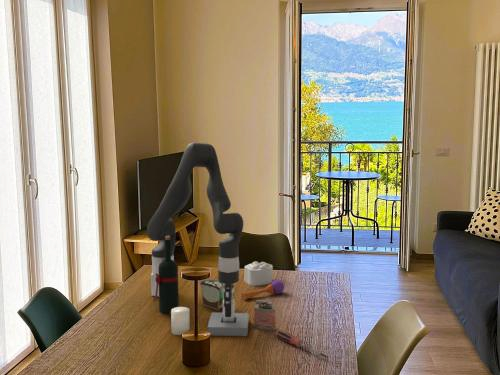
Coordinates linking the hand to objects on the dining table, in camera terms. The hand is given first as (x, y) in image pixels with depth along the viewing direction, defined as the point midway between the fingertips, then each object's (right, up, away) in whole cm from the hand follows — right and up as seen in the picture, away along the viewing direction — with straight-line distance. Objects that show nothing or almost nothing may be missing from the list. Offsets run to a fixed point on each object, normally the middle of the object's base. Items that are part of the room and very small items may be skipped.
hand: (228, 313), depth 194 cm
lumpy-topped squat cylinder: (+12, +2, +56) cm, 57 cm away
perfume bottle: (+13, -6, +1) cm, 14 cm away
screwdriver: (+25, -8, -16) cm, 31 cm away
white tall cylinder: (0, -5, +1) cm, 5 cm away
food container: (-6, -3, +24) cm, 25 cm away
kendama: (+14, -1, +36) cm, 38 cm away
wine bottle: (-25, -3, +17) cm, 31 cm away
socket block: (0, -5, +1) cm, 5 cm away
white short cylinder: (-17, -6, -3) cm, 18 cm away
